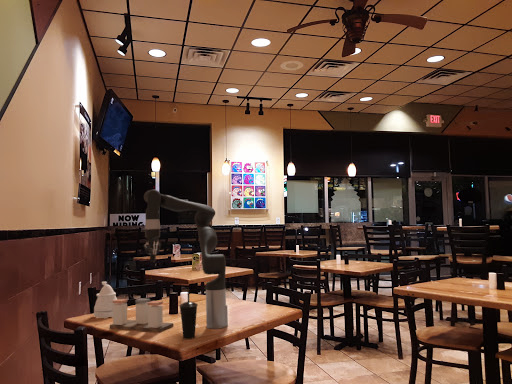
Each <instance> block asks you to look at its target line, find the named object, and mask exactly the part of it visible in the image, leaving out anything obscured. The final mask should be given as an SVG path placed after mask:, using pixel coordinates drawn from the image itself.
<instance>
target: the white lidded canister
mask: <svg viewBox="0 0 512 384" xmlns="http://www.w3.org/2000/svg"><path fill="white" fill-rule="evenodd" d="M147 303H148V305H150V306H149V307H148V327H153V328H158V327H161V326H163V320H164V319H163V301H162V300H150V301H149V302H147Z"/></svg>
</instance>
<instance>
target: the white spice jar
mask: <svg viewBox="0 0 512 384" xmlns="http://www.w3.org/2000/svg"><path fill="white" fill-rule="evenodd" d="M127 302H128V299H127V298H125V299H122V298H117V300H113V303H118V304H114V305H113V317H112V324H116V325H123V324H126V323H127V320H128V303H127Z"/></svg>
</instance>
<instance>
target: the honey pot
mask: <svg viewBox="0 0 512 384" xmlns="http://www.w3.org/2000/svg"><path fill="white" fill-rule="evenodd" d="M101 285H102V287H101V289H100V291H99V293H96V297H97V298H96V301H95V305H94V307H93V317H94V316H95V317H98V318H104V319H109V318H108V317H112V318H113V305H114V304H118V303H113V300H117V299H118V298H117V296H116V294H117V293H116V292H115V291H114V289H113V287H112V286H111V285H110V284H108V282H107V281H101ZM98 318H97V319H98Z"/></svg>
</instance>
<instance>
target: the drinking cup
mask: <svg viewBox="0 0 512 384" xmlns="http://www.w3.org/2000/svg"><path fill="white" fill-rule="evenodd" d="M179 309H180V317H181V329H182V337H183V339H184V340H193V339H195V338H196V324H197V311H198V310H197V309H198V303H196V302H194V301H190V289H187V301H184V302H183V303H181V304H179Z"/></svg>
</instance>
